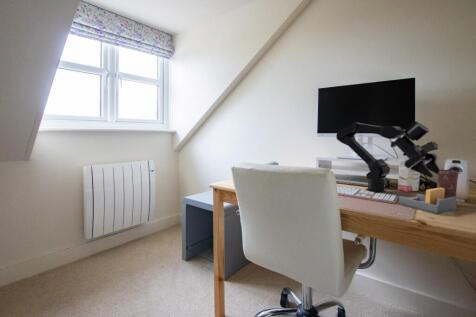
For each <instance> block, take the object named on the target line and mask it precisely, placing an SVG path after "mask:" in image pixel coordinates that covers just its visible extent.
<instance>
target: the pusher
mask: <svg viewBox="0 0 476 317" xmlns="http://www.w3.org/2000/svg"><path fill="white" fill-rule="evenodd" d="M444 193H445V188H437V187H436V188H430V189H426V190H425V196H426V199H425V203H429V204H433V205H436V202H437V200H439V199H444Z"/></svg>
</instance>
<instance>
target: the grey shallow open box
mask: <svg viewBox="0 0 476 317" xmlns="http://www.w3.org/2000/svg"><path fill="white" fill-rule="evenodd" d="M425 199H426V194H425V195H423V194H421V193H417V194H416V195H415V197H409V198H407V197H403V196H399V197H398V205H400V206H404V207H408V208H412V209H414V210H415V209H416V210H419V211H423V212H426V213H431V214H433V215H440V214H445V213H449V212H454V211H456V210H457V202H456V201H455V200H456V199H457V196H456V197H449V198H444V199H439V200H437V202H436V205H433V204H429V203H425Z"/></svg>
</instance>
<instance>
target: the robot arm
mask: <svg viewBox="0 0 476 317" xmlns="http://www.w3.org/2000/svg"><path fill="white" fill-rule="evenodd" d="M358 132H363V133H368V134H369V133H370V134H375V135H378V136H381V137H382V138H384V139H387V140H394V141H391V142H390V143H391V144H390V148H396V147H397V148H398V149H399V150H400V151H401V152H402V155H403V156H405V157H407V158H408V159H406V160H404V161H405V166H406V167H407V168H410V169H411V170H414V171H417V172H419V173H420V175H421V174H422V175H424V176H426V177H428V178H433V177H434V175H433V173H434V174H436V175H438V172H439V171H440V170H441V169H440V167H439V166H438V164H437V160H438V155H437V154H436V153H435V152H432V151H436V150H439V147H438V143H437V142H436V141H429V142H427V143H425V144H422V145H419V144H415V142H414V141H416V142H418V141H419V140H420V139H422V138H423V137H424V136H426V135H427V134H428V133H429V132H430V130H429V128H428V127H427V126H425V125H423V124H422V123H420V122H419V121H417V120H415V121H414V122H412V124H411V125H410V126H408V127H407V128H405V129H403V128H401V126H379V125H372V124H367V123H361V122H352V123H351V124H350V125H348V126H346V127H344V128H343V129H341V130H339V131H337V133H336V135H335V136H336V140H337V141H338V142H340V143H342V144H343V145H345V146H348V147H349V149H351V150H352V151H353V152H354V153H355V154H356V155H357V156H358V157H359V158H360V159H361V160H362V161H363V162H364V163H366V165H367V167H368V169H369V171H368V173H366V175H365V176H366V179H368V181H367V188H365V190H366V191H369V190H370V191H369V192H373V191H376V192H375V193H382V191H384V192H386V190H385V179H386V177H387V176H388V175H389V174H390V173H391V172H390V171H391V167H390V166H389V163H387V162H385V160H384V159H383V158H380V159H377V158H375V157H374V156H373V155H372V154H371V153H370V152H369V151H368V150H367V149H366V148H365V147H363V145H362V144H360V143H359V142H358V141H357V140H356V137H355V135H357V134H358ZM432 172H433V173H432Z"/></svg>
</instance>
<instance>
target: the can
mask: <svg viewBox="0 0 476 317" xmlns="http://www.w3.org/2000/svg"><path fill="white" fill-rule="evenodd" d="M458 179H459V171H458V170H452V169H440V171H439V172H438V174H437V184H436V188H445V193H444V198H449V197H456V198H457V189H458V188H457V187H458ZM455 202H456V200H455Z"/></svg>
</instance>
